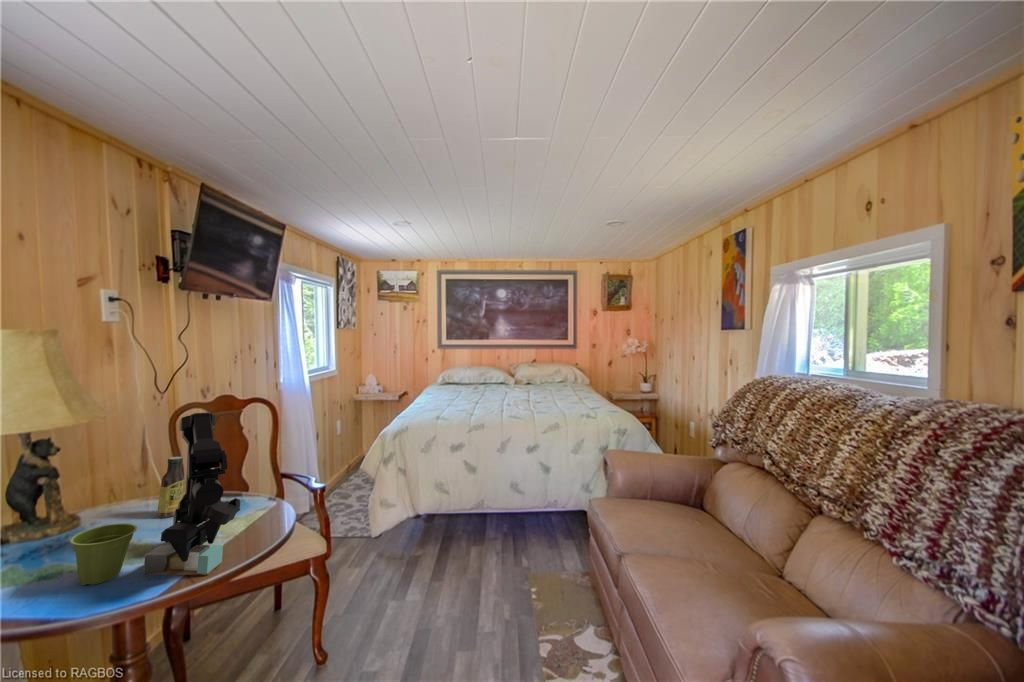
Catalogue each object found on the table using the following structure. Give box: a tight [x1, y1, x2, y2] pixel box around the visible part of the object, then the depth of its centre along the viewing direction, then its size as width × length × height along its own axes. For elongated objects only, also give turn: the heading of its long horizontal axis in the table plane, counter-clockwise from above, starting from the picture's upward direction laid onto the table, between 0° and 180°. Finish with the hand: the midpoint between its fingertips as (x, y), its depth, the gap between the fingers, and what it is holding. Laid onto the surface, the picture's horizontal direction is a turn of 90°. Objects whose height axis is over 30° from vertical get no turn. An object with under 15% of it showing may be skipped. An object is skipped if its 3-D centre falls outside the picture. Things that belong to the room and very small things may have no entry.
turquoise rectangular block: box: [197, 544, 224, 574], centre depth 102 cm, size 2×6×5 cm, turn 4°
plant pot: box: [69, 522, 138, 586], centre depth 97 cm, size 12×12×11 cm
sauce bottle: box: [157, 456, 185, 519], centre depth 133 cm, size 7×6×20 cm
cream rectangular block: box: [166, 544, 211, 571], centre depth 102 cm, size 11×4×5 cm, turn 93°
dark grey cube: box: [143, 544, 176, 573], centre depth 102 cm, size 5×5×4 cm
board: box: [143, 562, 222, 576], centre depth 102 cm, size 16×5×1 cm, turn 93°
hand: (198, 552), depth 102 cm, fingers open, 9 cm apart
